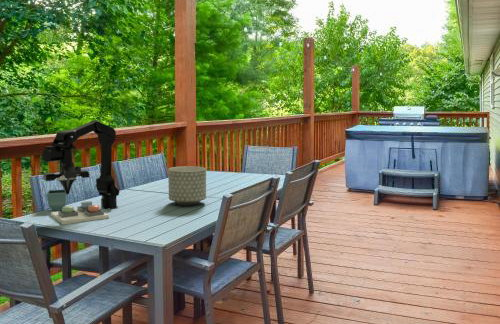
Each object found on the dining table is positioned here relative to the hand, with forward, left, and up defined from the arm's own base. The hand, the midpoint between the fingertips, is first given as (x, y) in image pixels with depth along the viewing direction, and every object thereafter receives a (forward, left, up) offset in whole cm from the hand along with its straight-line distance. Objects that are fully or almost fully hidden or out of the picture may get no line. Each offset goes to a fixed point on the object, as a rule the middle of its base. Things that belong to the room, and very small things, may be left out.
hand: (67, 194), depth 226 cm
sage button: (0, 0, -8) cm, 8 cm away
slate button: (-10, -5, -8) cm, 14 cm away
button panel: (-5, 0, -11) cm, 12 cm away
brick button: (-10, +5, -8) cm, 14 cm away
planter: (-59, +3, -11) cm, 60 cm away
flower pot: (-1, -21, -11) cm, 24 cm away
